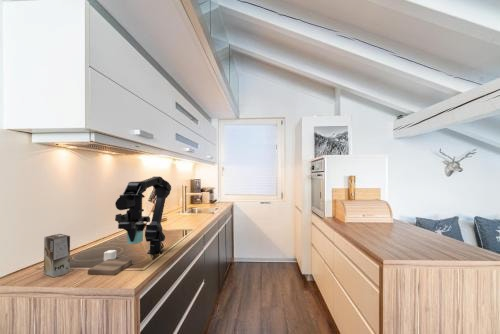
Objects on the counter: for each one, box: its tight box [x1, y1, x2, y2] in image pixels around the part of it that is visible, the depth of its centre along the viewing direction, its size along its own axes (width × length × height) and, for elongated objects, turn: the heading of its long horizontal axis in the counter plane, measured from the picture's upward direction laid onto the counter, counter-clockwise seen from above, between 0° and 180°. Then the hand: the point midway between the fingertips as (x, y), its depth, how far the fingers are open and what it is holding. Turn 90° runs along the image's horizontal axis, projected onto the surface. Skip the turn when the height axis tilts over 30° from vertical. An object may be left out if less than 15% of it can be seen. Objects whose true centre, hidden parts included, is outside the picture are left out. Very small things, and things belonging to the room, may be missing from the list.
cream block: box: [103, 249, 117, 262], centre depth 121 cm, size 4×4×4 cm
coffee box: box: [43, 233, 71, 278], centre depth 104 cm, size 9×6×16 cm
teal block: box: [126, 230, 144, 245], centre depth 114 cm, size 5×5×5 cm
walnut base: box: [87, 258, 133, 276], centre depth 108 cm, size 13×12×2 cm
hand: (135, 240), depth 114 cm, fingers closed on teal block, 5 cm apart
